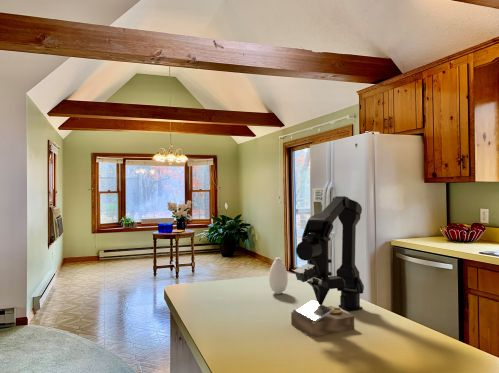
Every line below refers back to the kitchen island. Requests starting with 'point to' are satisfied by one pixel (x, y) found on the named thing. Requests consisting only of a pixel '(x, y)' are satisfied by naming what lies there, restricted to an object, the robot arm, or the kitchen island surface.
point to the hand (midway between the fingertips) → (320, 304)
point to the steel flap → (314, 310)
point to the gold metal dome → (335, 311)
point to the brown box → (322, 323)
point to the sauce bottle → (278, 276)
